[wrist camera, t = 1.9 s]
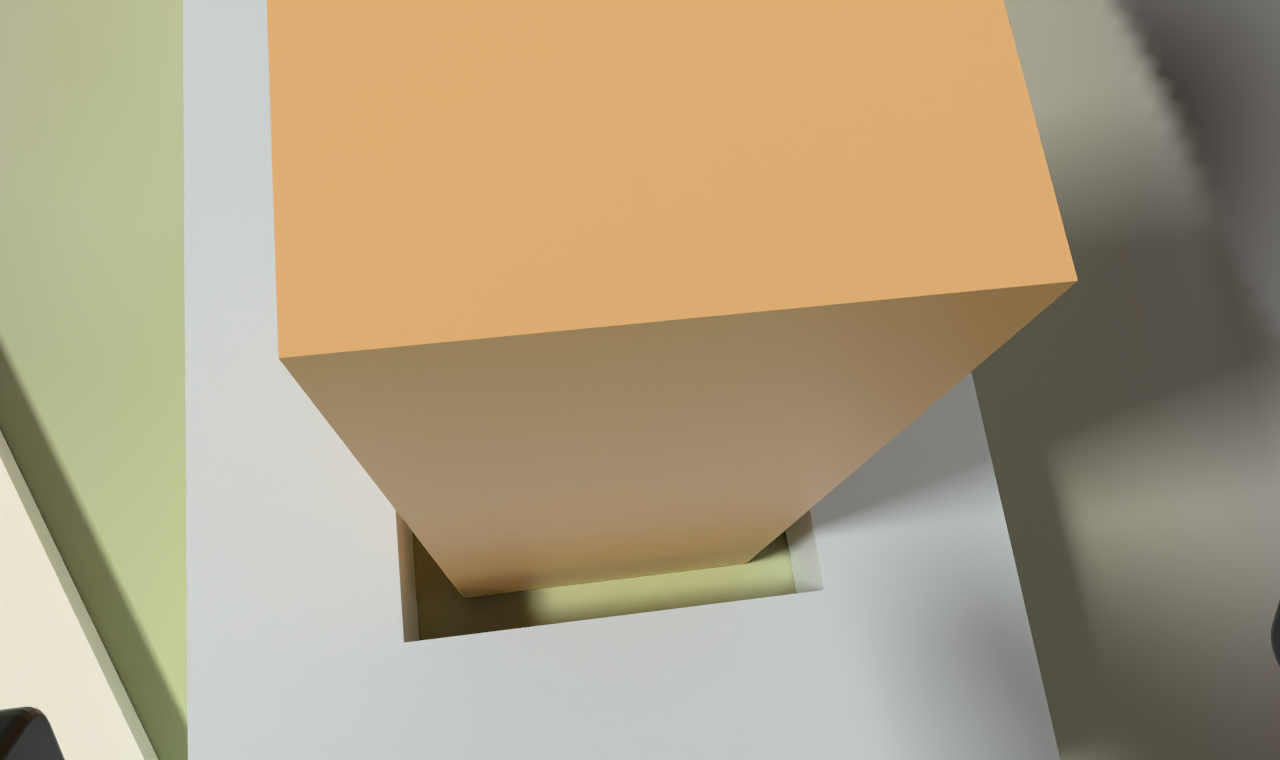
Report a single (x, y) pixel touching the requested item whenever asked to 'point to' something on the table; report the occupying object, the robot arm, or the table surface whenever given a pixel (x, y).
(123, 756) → the pad
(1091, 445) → the table surface
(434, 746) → the dock
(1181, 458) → the table surface
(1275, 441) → the table surface
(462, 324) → the module
